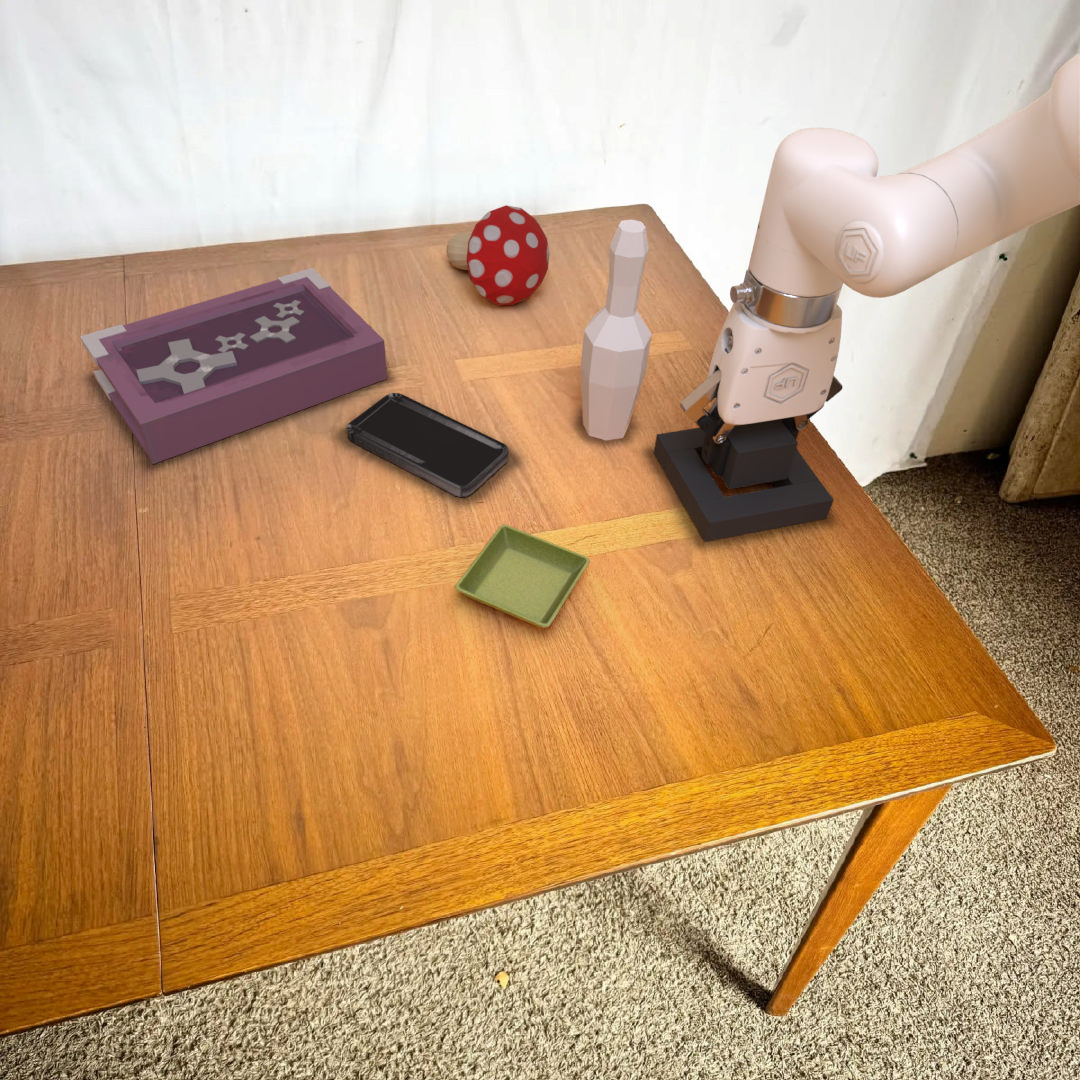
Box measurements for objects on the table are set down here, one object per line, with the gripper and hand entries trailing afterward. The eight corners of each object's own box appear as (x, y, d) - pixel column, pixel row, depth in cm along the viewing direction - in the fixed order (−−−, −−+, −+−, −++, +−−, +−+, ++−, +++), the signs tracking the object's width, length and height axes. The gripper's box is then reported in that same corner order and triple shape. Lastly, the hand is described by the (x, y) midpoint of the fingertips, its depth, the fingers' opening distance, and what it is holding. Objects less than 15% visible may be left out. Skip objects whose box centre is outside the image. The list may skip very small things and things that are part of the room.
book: (317, 306, 110) (312, 267, 107) (388, 378, 102) (385, 338, 98) (94, 377, 99) (79, 336, 96) (151, 465, 90) (138, 423, 87)
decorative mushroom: (429, 188, 113) (507, 192, 103) (499, 219, 121) (579, 225, 110) (406, 282, 115) (480, 295, 104) (477, 306, 122) (553, 321, 112)
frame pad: (826, 518, 90) (834, 499, 88) (704, 542, 87) (709, 522, 85) (767, 434, 98) (772, 415, 97) (653, 453, 95) (656, 434, 94)
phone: (393, 389, 98) (513, 447, 93) (393, 398, 99) (513, 456, 94) (340, 429, 94) (464, 492, 88) (342, 438, 94) (464, 501, 89)
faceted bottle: (635, 408, 100) (666, 210, 84) (637, 447, 96) (671, 247, 80) (574, 404, 100) (594, 206, 84) (574, 444, 96) (595, 242, 80)
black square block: (786, 479, 90) (798, 442, 86) (728, 489, 88) (738, 452, 85) (758, 438, 94) (768, 402, 90) (702, 448, 92) (710, 411, 89)
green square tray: (590, 574, 84) (592, 557, 82) (546, 643, 78) (548, 627, 77) (501, 538, 86) (502, 522, 85) (453, 604, 81) (453, 587, 79)
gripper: (712, 331, 73) (675, 502, 86) (908, 305, 77) (845, 472, 90) (674, 280, 78) (645, 449, 91) (860, 257, 82) (807, 422, 95)
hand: (745, 459), depth 90 cm, fingers closed on black square block, 6 cm apart
